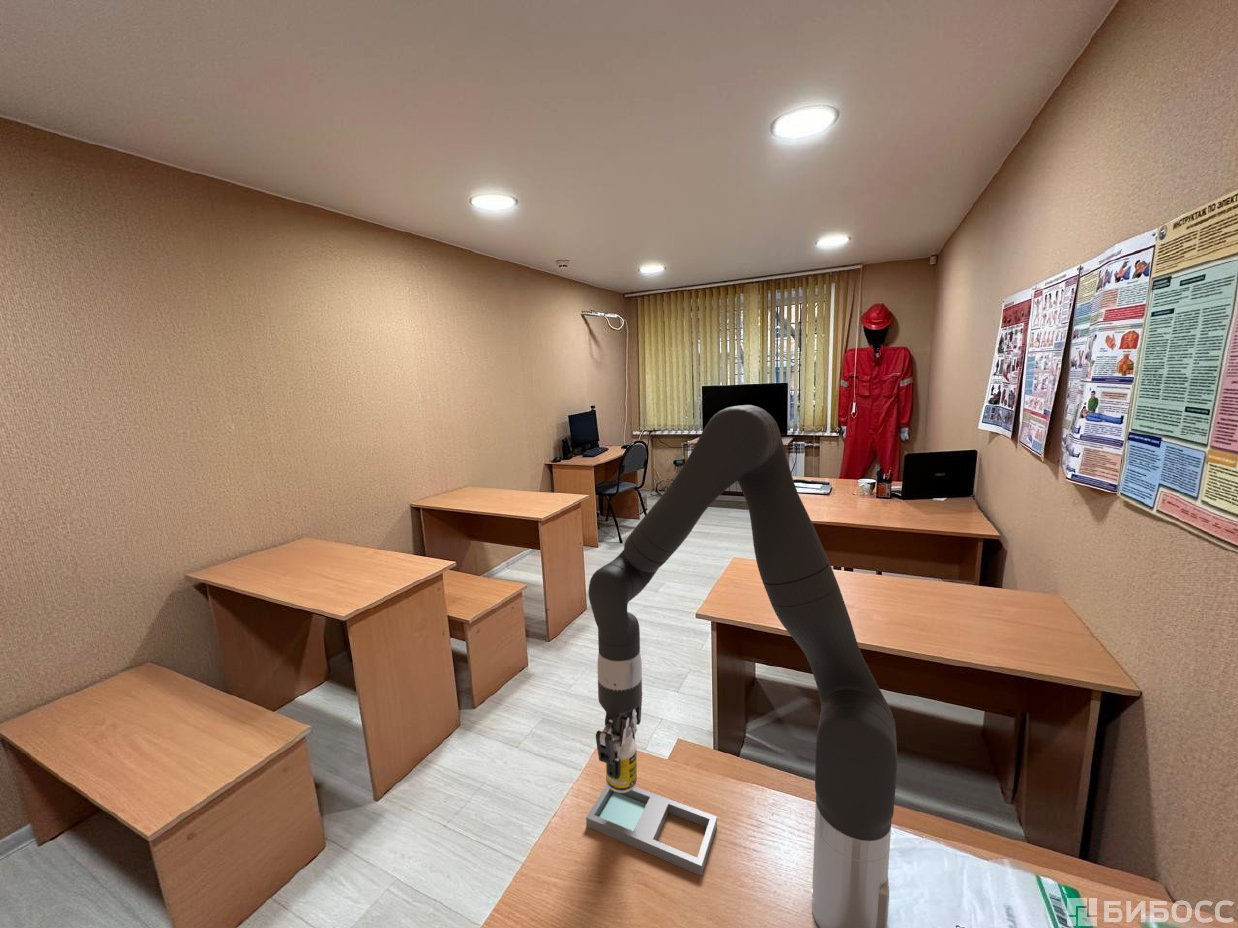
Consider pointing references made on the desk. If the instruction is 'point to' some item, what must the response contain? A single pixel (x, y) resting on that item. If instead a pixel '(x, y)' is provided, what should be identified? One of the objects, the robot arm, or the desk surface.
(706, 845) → the frame
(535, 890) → the desk surface
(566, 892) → the desk surface
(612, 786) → the supplement bottle
